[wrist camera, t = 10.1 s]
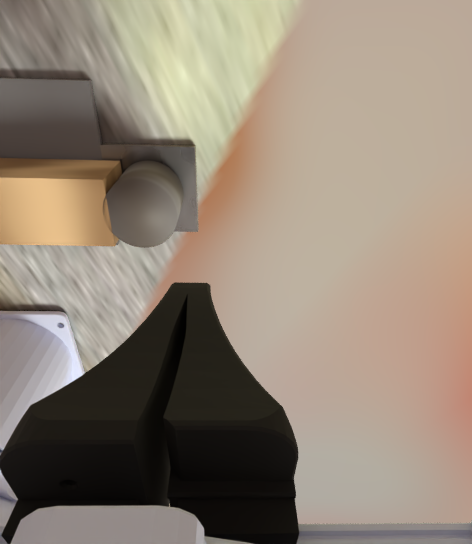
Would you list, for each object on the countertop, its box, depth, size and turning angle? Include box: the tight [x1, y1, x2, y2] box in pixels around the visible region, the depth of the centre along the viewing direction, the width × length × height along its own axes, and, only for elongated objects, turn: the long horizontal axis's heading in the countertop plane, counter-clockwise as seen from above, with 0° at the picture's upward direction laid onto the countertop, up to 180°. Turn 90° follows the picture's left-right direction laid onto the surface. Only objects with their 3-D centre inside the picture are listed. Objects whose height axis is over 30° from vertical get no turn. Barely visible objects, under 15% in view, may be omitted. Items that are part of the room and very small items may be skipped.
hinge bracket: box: [100, 143, 198, 232], centre depth 20 cm, size 5×5×1 cm
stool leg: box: [0, 158, 184, 248], centre depth 18 cm, size 16×4×3 cm, turn 88°
